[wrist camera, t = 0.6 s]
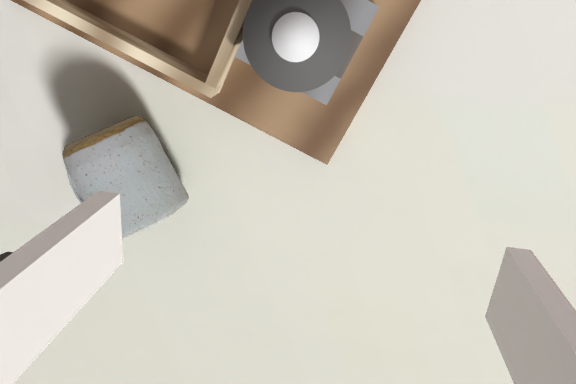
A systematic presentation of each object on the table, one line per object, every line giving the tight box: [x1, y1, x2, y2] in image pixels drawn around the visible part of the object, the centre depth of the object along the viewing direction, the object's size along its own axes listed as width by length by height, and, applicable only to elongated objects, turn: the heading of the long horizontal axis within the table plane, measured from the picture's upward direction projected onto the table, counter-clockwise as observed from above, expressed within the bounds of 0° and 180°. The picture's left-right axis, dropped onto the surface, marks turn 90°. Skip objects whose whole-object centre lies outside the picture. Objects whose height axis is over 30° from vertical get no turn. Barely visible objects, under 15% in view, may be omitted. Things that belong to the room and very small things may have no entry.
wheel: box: [243, 0, 351, 92], centre depth 28 cm, size 6×6×6 cm
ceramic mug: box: [63, 116, 189, 238], centre depth 38 cm, size 11×8×8 cm
